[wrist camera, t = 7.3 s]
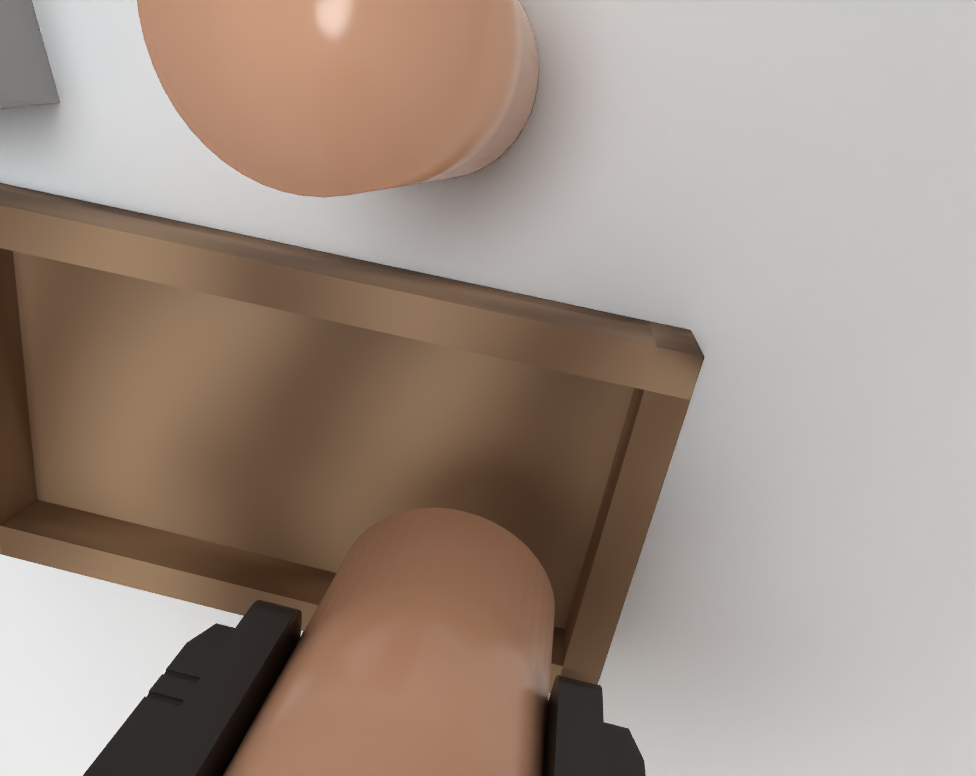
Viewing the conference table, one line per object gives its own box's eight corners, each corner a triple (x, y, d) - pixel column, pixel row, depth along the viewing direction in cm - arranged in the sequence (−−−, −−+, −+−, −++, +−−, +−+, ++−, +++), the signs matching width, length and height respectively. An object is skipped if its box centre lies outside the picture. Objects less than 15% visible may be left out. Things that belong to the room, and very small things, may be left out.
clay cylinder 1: (553, -35, 13) (511, -214, 7) (524, 189, 15) (467, 217, 8) (345, -54, 14) (122, -238, 7) (338, 165, 15) (148, 175, 9)
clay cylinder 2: (578, 539, 12) (566, 994, 6) (528, 707, 14) (477, 1200, 8) (352, 483, 13) (105, 860, 6) (330, 655, 14) (119, 1089, 8)
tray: (690, 330, 16) (704, 356, 14) (591, 649, 19) (591, 703, 18) (-11, 181, 17) (-84, 186, 15) (25, 509, 21) (-31, 546, 19)
